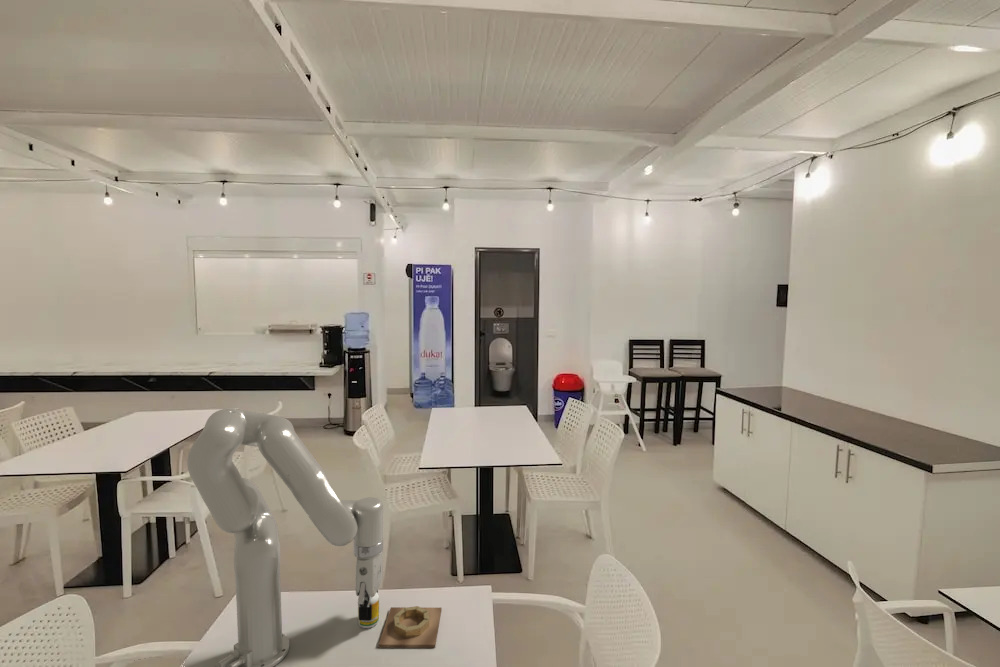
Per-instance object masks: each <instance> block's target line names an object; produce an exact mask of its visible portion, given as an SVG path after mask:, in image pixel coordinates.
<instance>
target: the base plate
mask: <svg viewBox="0 0 1000 667" xmlns="http://www.w3.org/2000/svg"><path fill="white" fill-rule="evenodd" d="M403 608H408V607H405V606H404V607H396V606H395V607H390V608H389V609H390V610H389V612H388V615H387V618H386V621H385V623H384V627H383V630H382V634H381V636H380V638H379V639H380V640H379V641H378V648H381V649H382V648H385V649H386V648H388V649H389V648H392V649H393V648H397V649H398V648H404V649H405V648H407V649H409V648H410V649H411V648H414V649H415V648H416V649H418V648H420V649H423V648H424V649H429V648H431V649H433V648H436V646H437V645H436V644H437V639H438V634H439V633H438V632H439V627H440V622H441V614H442V610H443V609H442V607H422V608H423V609H425V610H427V611H428V614H429V628H428V629H427V630H426V631H425V632H423V633H422V634H421V635H420V636H414V637H408V638H405V637H403V636H401V635H399V634H397V633H395V625H394V616H395V615H396V614H397V613H398V612H400V611H401V610H402V609H403ZM422 621H423V619H421V618H419V617H417V616H414V617H408V618H405V619H404V620H403V621H402V622H400V624H402V625H404V626H407V627H410V626H416V625H419V624H420V623H421V622H422Z"/></svg>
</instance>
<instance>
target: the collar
mask: <svg viewBox="0 0 1000 667" xmlns="http://www.w3.org/2000/svg"><path fill="white" fill-rule="evenodd" d="M423 608H424V607H421V606H418V605H416V606H410V607H408V608H403V609H402V610H401V611H400V612H398V613H397V614H396V615H395V616H394V625H395V633H397V634H399V635H401V636H403V637H405V638H408V637H414V636H420V635H421V634H422V633H423V632H425V631H426V630H427V629H428V628H429V614H428V611H427V610H425V609H423ZM414 616H417V617H419V618H421V619H423V621H422V622H421V623H420V624H419V625H416V626H410V627H407V626H404V625H402V624H400V622H402V621H403V620H404V619H405V618H408V617H414Z"/></svg>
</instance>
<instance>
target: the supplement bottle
mask: <svg viewBox="0 0 1000 667" xmlns="http://www.w3.org/2000/svg"><path fill="white" fill-rule="evenodd" d="M365 593H367V591H366V592H365ZM358 599H359V597H358ZM365 600H367V601H368V597H365ZM370 605H372V619H371V620H370V621H366V620H359V605H358V604H357V623H358V625H359V626H360V627H361V628H363V629H371V628H373V627H374V626H376V625H377V624H378V623H379V620H380V595H379V592H378V593H377V592H376V594H375V595H374V596H373V597H372V596H371V603H370Z"/></svg>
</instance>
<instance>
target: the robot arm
mask: <svg viewBox="0 0 1000 667" xmlns="http://www.w3.org/2000/svg"><path fill="white" fill-rule="evenodd" d="M241 446H250V447H256V448H258V450H259V452H260V454H261V455H262V457H263V458H264V459H265V461H266V462H267V463H268V464H269V465H270V466H271V468H272V469H273V470H274V472H275V473H276V474H277V476H279V478H280V480H282V482H283V483H284V484H285V485H286V486H287V489H288V490H289V491H290V492H291V493H292V495H293V497H294V499H295V500H296V501H297V503H298V504H299V506H301V508H302V510H304V512H305V514H306V515H307V516H308V518H309V520H310V521H311V522H312V524H313V525H314V526H315V528H316V529H317V530H318V532H320V534H321V536H323V538H325V540H326V541H327V542H328V543H329V544H331V545H333V546H335V547H343V546H344V547H345V546H347V545H349V544H350V543H351V542H352V541H353V556H354V557H355V558H356V565H355V595H356V596H357V597H358V598H359V599H358V600H357V606H358V605H359V620H366V621H370V620H371V619H372V605H370V603H371V596H372V597H373V596H374V595H375V594H376V592H377V593H378V594H379V588H380V585H381V583H382V580H383V578H384V565H383V561H384V560H383V553H384V503H383V502H382V500H381V499H380V498H378V497H363V498H361V499H357V500H356V499H353V500H352V499H350V500H349V499H348V500H347V499H345V500H344V499H339V498H338V495H337V494H336V492H335V491H334V489H333V487H332V486H331V483H330V482H329V479H328V476H327V474H326V473H325V471H324V469H323V467H322V466H321V465H320V463H319V462H318V461H317V459H316V458H315V457H314V455H313V454H312V453H311V452H310V450H309V449H308V448H307V446H306V445H305V444H304V442H303V440H302V439H301V438H300V437H299V435H298V434H297V432H296V431H295V427H294V425H293V423H292V422H291V421H290V420H289V419H287V418H285V417H282V416H279V415H275V414H274V415H273V414H270V413H269V414H267V413H262V412H256V411H249V410H245V409H238V408H223V409H219V410H216V411H214V412H213V413H212V414H211V415H210V416H209V417H208V418H207V420H206V422H205V425H204V426H203V429H202V431H201V433H199V436H198V437H197V438H196V439H195V441H194V442H193V444H192V445H191V447H190V449H189V451H188V454H187V459H186V460H187V461H186V466H187V471H188V474H189V477H190V478H191V480H192V483H193V484H194V486H195V487H196V488H197V491H198V492H199V494H200V497H201V499H202V501H203V502H204V504H205V505H206V507H207V509H208V511H209V513H210V514H211V517H212V519H213V520H214V522H215V524H216V525H217V527H218V528H219V529H220V530H221V531H223V532H225V533H228V534H233V535H234V537H235V540H234V541H235V542H234V549H233V550H234V551H233V568H234V580H235V581H234V582H235V600H236V619H237V620H236V621H237V622H236V623H237V624H236V626H237V643H235V644H233V650H232V651H231V652H230V653H229V655H228V656H226V657H224V658H222V659H221V660H219V661H217V663H216V667H275V666H277V665H278V664H280V663H281V662H282V661H283V660H284V658H286V656H287V655H288V653H289V650H290V639H289V637H288V636H287V635H286V634H284V633H283V620H282V619H283V618H282V617H283V616H282V588H281V587H282V586H281V544H280V537H279V536H280V535H279V528H278V524H277V521H276V520H277V519H276V518H275V516H274V514H273V513H272V510H271V509H270V507H269V505H268V504H267V501H266V500H265V498H264V496H263V495H262V492H261V491H260V488H259V487H258V486H257V485H256V484H255V482H253V481H252V480H251V479H248V478H246V477H242V476H241V474H240V472H239V470H238V468H237V466H236V465H235V464H234V462H233V456H234V454H235V453H236V451H237V450H238V449H239V448H240V447H241ZM366 591H367V593H365V592H366ZM365 597H368V601H367V600H365Z"/></svg>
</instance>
